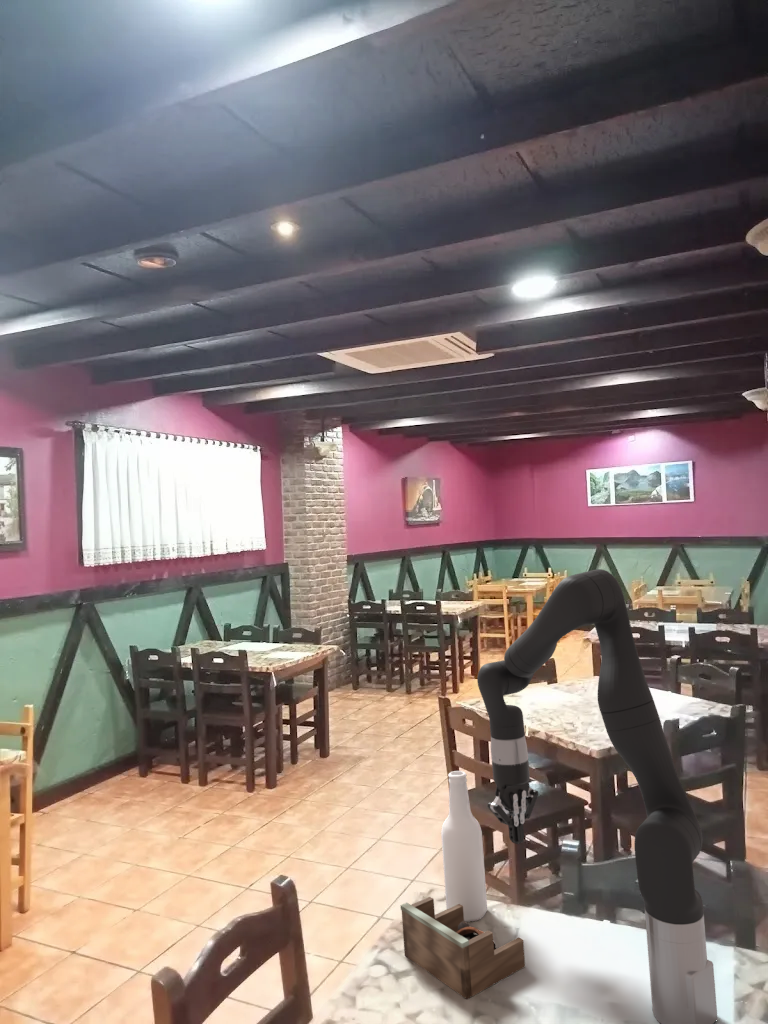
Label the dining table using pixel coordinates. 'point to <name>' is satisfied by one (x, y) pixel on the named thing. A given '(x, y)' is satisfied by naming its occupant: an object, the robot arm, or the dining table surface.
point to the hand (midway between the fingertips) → (517, 842)
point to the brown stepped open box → (456, 949)
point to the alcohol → (463, 853)
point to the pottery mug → (469, 931)
